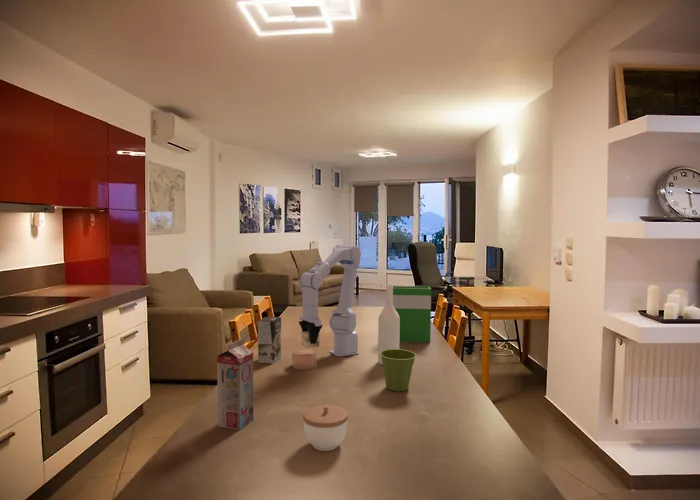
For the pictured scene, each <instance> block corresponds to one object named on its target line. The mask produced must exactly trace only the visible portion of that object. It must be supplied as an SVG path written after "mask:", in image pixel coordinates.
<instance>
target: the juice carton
mask: <svg viewBox="0 0 700 500" xmlns="http://www.w3.org/2000/svg"><path fill="white" fill-rule="evenodd" d="M243 339H244V338H240V339H237V340H236V341H234V342H231V343H229V344H228V345H227V350H226V351H225V352H222V353H220V354H219V355H217V356H216V358H217V360H216V361H217V362H216V364H217V367H216V369H217V372H216V374H217V375H216V376H217V426H218V427H221V428H225V429H226V428H227V429H231V430H237V431H241V430H242V429H244V428H245V427H246V426H248V425H249V424H250V423H251V422H252V421H254V418H255V417H254V352H253V350H251V349H250V348H248V347H247V346H245V344H244V343H243Z"/></svg>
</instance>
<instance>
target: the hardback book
mask: <svg viewBox="0 0 700 500" xmlns="http://www.w3.org/2000/svg"><path fill="white" fill-rule="evenodd" d="M393 306H394V308H395V310H396V311H397V313H398V315H399V318H400V339H399V342H404V343H405V342H408V343H409V342H410V343H411V342H412V343H413V342H414V343H431V332H432V331H431V325H432V324H431V323H432V321H431V319H432V288H431V286H421V285H420V286H417V285H416V286H415V285H414V286H413V285H410V286H407V285H405V286H404V285H393Z"/></svg>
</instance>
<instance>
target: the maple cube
mask: <svg viewBox="0 0 700 500" xmlns="http://www.w3.org/2000/svg"><path fill="white" fill-rule="evenodd" d="M300 335H301V338H300V339H301V344H300V345H301V346H303V347H304V348H305V349H311V348H317V347H318V348H319V347H320V334H319V335H318V339H317V342H316V343H315V344H311V343H310V338H309V332H308V331H303V332H302V331H301V333H300Z"/></svg>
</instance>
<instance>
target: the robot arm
mask: <svg viewBox="0 0 700 500" xmlns="http://www.w3.org/2000/svg"><path fill="white" fill-rule="evenodd" d="M361 256H362V252H361V250H360V247H359V246H357V245H340V244H337V245H335V246H334V247H333V248H332V252H331V254H329V256H328V257H327V258H326V259H325V260H324V261H323V260H321V261H318V262H317V263H316V265H314V266H313V267H312V268H310V269H309V271H308V272H302V274H301V275H300V277H299V280H298V284H299V286H300V292H301V293H302V313H300V314H299V316H300V317H299V320H300V321H298V324H299V326H300V328H301V332H303V331H308V332H309V338H310V343H311V344H315V343H316V342H317V339H318V335H319V336H320V332H321V330H322V328H323V325H322V320H321V319H320V317H319V288H320V287H321V285H322V283H323V281H324V279H325V278H326V277H327V276H328V275H330V273H331V268H333V267H334V266H335V265H336V264H339V265H340V266H341V267H343V270H344V271H343V277H342V283H341V287H340V288H341V289H340V295H339V301H338V306H337V307H336V308H335V309H333V310H332V313H331V316H330V318H329V322H328V325H329V328H330V330H331V332H332V333H333V350H329V353H331V354H333V355H334V356H336V357H346V356H352V355H353V356H354V355H358V354H359V346H358V344H359V337H358V333H357V332H356V331H355V330H356V326H357V322H356V321H357V319H356V317H357V314H356V313H355V312H354V310H353V309H352V304H353V299H354V298H353V297H354V294H355V285H356V280H357V275H358V269H359V268H358V267H360V263H361Z"/></svg>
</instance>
